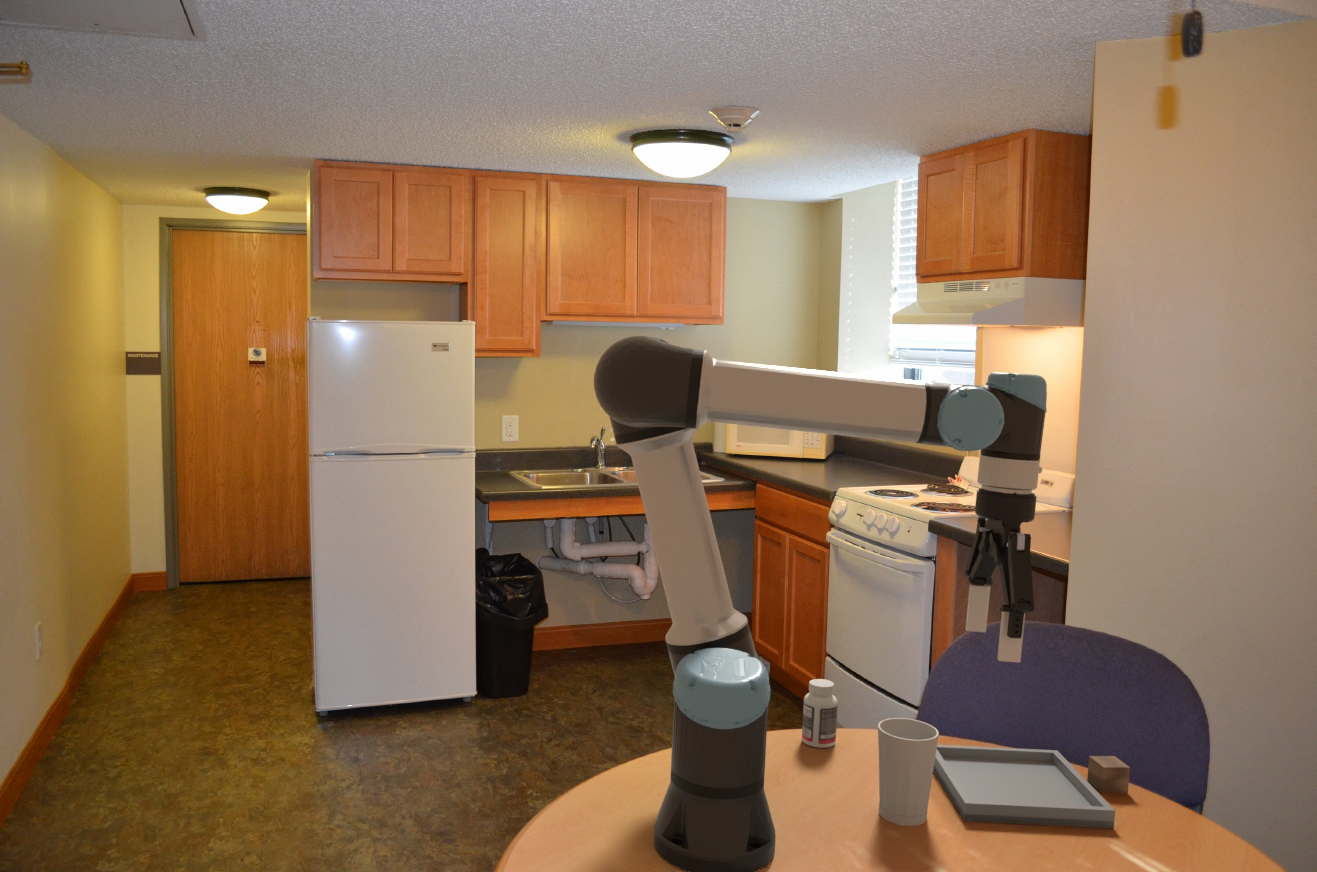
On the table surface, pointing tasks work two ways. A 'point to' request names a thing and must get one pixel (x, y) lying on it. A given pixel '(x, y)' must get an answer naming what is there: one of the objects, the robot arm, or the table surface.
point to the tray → (1019, 787)
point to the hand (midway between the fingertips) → (991, 645)
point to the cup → (905, 769)
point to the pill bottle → (820, 714)
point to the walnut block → (1108, 774)
